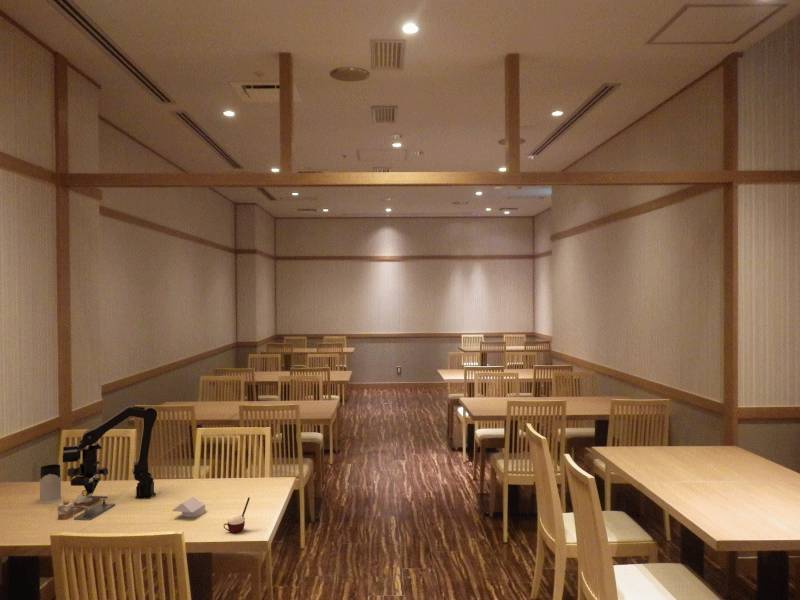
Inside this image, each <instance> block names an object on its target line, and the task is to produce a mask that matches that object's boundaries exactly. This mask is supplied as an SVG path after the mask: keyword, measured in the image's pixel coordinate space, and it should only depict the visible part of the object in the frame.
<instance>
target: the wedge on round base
mask: <svg viewBox="0 0 800 600" xmlns="http://www.w3.org/2000/svg"><path fill="white" fill-rule="evenodd" d="M171 512H181V515H182V516H183V517H185V516H186V517H187V518H192V517H193V516H195V517H199V516H202V515H204V514H205V513H206V503H205V502H204V501H201V500H198V499H197V498H196V497H195V496H192V497H190V498H188V499H187V500H185V501H183V502H181V503H180V504H179V505H178V506H176V507H175V508H174V509H172V510H171ZM198 515H199V516H198ZM186 517H185V518H186ZM193 518H194V517H193Z"/></svg>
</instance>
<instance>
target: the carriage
mask: <svg viewBox="0 0 800 600" xmlns="http://www.w3.org/2000/svg"><path fill="white" fill-rule="evenodd" d="M81 491H82V493H80V494H77V495H76V503H77V504H79V503H88V502H89V501H91V500H92V498H100V499H102V503H103V505H105V503H106V499H108V496H107V495H105V496H104V495H102V496H101V495H93V494H92V493H87V490H86V489H83V490H81Z"/></svg>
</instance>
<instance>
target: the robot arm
mask: <svg viewBox="0 0 800 600" xmlns="http://www.w3.org/2000/svg"><path fill="white" fill-rule="evenodd" d="M130 417H135V418H140V419H142V430H141V431H142V432H141V438H140V445H139V446H140V447H139V451H138V452H139V453H138V458H137V460H136V461H133V462H132V464H133V467H132V469H131V472H132V475H133V477H134V479H135V481H138V482H137V485H136V487H135V489H136V491H135V492H136V496H135V498H134V499H151V498H153V497H154V496H155V495H157V492H155V481H154V477H153V475H152V474H151V472H149V463H148V460H149V459H148V458H149V451H150V446H151V438H152V433H153V432H152V431H153V429H154V428H153V427H154V425H155V423H156V420H157V417H158V412H157V409H156V407H154V406H151V405H148V406H146V407H143V406H132V405H128V406H126V407H125V408H124V409H122V410H120V411H119V412H118V413H116V414H115V415H113V416H112V417H110V418H109V419H107V420H105V421H104V422H102V423H101V424H98V425H96V426H94V427H91V428H89V429H87V430H85V431H84V432H83V433H82V439H81V440H80V441H79V442H78V444H77V445H63V447H62V451H63V452H62V464H65V463H66V464H67V463H73V462H75V463H76V462H78V461H79V460H80V459H81V456H82V462H81V463H80V464H79V466H77V467H74V466H73V467H69V468H68V469H67V475H66V476H68V477H69V478H70V479H71V480H70V486H74V487H75V486H76V487H78V486H79V487H81V486H82V487H84V490H87V493H92V495H94V492H95V490H96V487H97V486H98V484H99V482H100V481H101V480H102V478H101V477H98V476H99V475H103V476H107V475H108V474H109V469H108V468H107V467H98V465H99V464H100V460H98V450H103V445H101V444H100V443H99V442H98V441H99V440H101V438H102V437H103V436H104V435H105V434H107V432H109V431H110V430H112V429H113V428H115V427H116V426H118V425H119V424H121V423H122V422H123V421H125V420H126V419H128V418H130ZM95 443H96V444H95ZM81 454H82V455H81Z"/></svg>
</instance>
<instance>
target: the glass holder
mask: <svg viewBox="0 0 800 600" xmlns="http://www.w3.org/2000/svg"><path fill="white" fill-rule="evenodd" d="M61 477H62V476H61V465H60V464H47V465H43V466H41V467H40V478H39V484H40V485H39V501H38V504H39V505H53V504H57V503H60V502H62V501H63V498H62V489H61V488H62V485H61V484H62V482H61V481H62V479H61Z"/></svg>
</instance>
